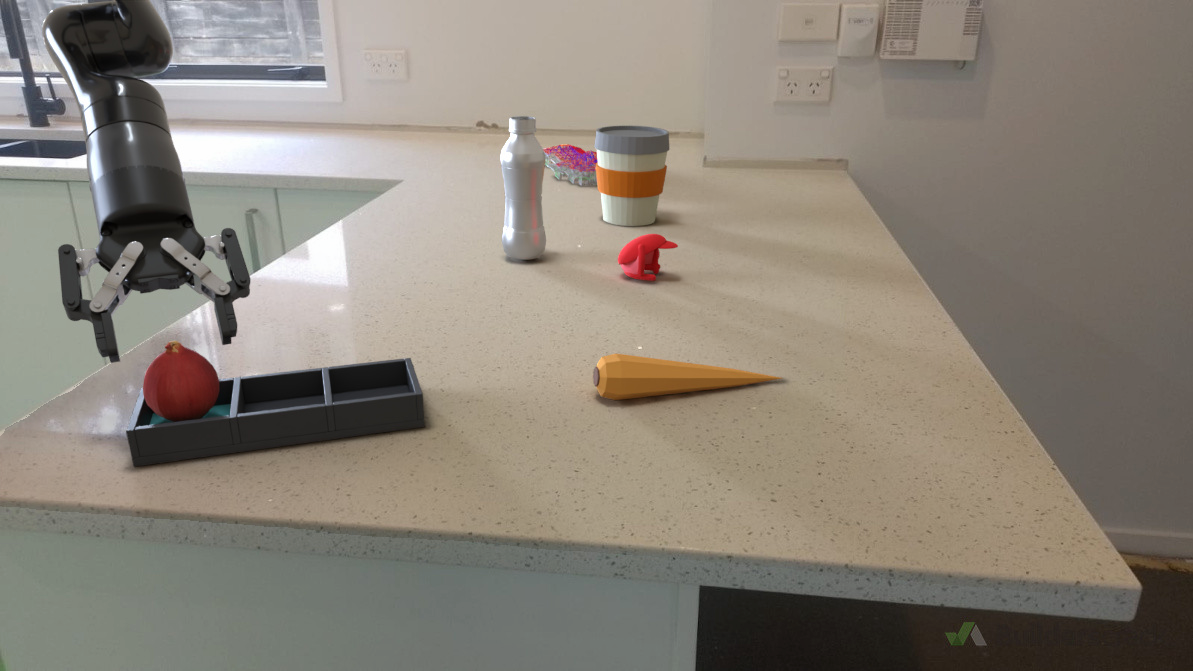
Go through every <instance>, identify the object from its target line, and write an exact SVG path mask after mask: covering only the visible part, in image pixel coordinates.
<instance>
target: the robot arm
mask: <svg viewBox="0 0 1193 671" xmlns="http://www.w3.org/2000/svg"><path fill="white" fill-rule="evenodd" d="M41 34H42V40H43V43H44V46H45V49H46V51H47V54H48V55H49V57H50V59H51V60H52V62H53V64H54V66H55V67H56V69H57V71H59V74H60V75H61V76H62V78H63V80H64V81H65V83H66V84H67V86H68V88H69V90H70V92H71V94H72V96H73V98H74V101H75V103H76V106H77V109H78V113H79V116H80V122H81V126H82V127H81V128H82V133H83V138H84V142H85V143H84V144H85V148H86V149H85V150H86V169H87V170H86V171H87V176H88V182H89V191H90V193H91V198H92V204H93V209H94V214H95V219H96V225H97V230H98V235H99V236H98V237H99V242H98V244H97V246H96V248H84V249H83V248H81V249H76V248H75V247H74V246H73V245H72V244H68V243H65V244H61V245H60V246H59V247H58V249H57V254H58V266H59V267H58V268H59V276H60V277H59V278H60V288H61V289H60V290H61V301H62V305H63V308H64V311H65V314H66V316H67V318H68V320H70V321H73V322H79V321H81V320H83V321H88V322H90V323H91V324H92V327H93V334H94V339H95V344H96V349H97V351H98V353H99V355H100V356H101V357H102V358H108V359H109V361H110V364H112V363H120V362H121V358H120V353H119V352H120V351H119V348H118V347H119V346H118V342H117V341H118V340H117V336H116V331H115V324H114V321H113V316H114V314H115V313H116V311H117V310H118V309H119V307H120V306H123V305H124V303H125V302H126V300H127V299H128V298H129V296H130V295H131V293H132V292H133V291H135V292H139V294H140V295H142V294H149V293H152V292H155V291H158V290H169V291H171V290H172V291H173V290H179V289H181V286H183V285H186V286H187V287H189V288H191V289H192V290H193V291H194V292H196V293H197V294H199V295H203V296H204V297H206V298H207V299H209V301H211V302H213V308H214V310H213V311H214V314H215V318H216V323H217V327H218V328H217V329H218V332H219V337H220V341H221V345H222V346H225V345H231V344H232V338H236V337H237V334H238V321H237V317H236V312H235V308H234V302H235V301H236V300H238V299H245V298H247V297H248V298H249V296H250V293H251V288H250V286H251V277H250V276H251V275H250V273H249V270H248V267H247V264H246V261H245V257H244V255H243V251H242V248H241V245H240V242H239V238H238V235H237V233H236V231H235V229H233V228H231V227H225V228H223V229H222V230H221V233H219V234H215V235H209V236H202V235H201V234H200V233H199V231H198V230H197V228H196V225H195V220H194V216H193V211H192V206H191V203H190V198H189V194H188V189H187V185H186V179H185V176H184V171H183V166H182V163H181V159H180V156H179V154H178V151H177V149H176V147H175V144H174V141H173V138H172V137H173V136H172V133H171V128H170V124H169V123H170V122H169V120H168V113H167V110H166V106H165V103H164V100H163V96H162V95H161V93H160V92H159V90H158V89H156V87H155V86H153V85H152V84H151V83H149V82H147V81H145V80H144V79H141V78H143V77H150V76H156V75H159V74H162V73H164V72H165V71H167V70H168V68H169V66H170V65H171V63H172V60H173V55H174V46H173V45H174V44H173V40H172V36H171V33H170V31H169V29H168V27H167V26H166V23H165V22H164V20H163V19H162V17H161V16H160V14H159V12H158V11H157V9H156V8H155V6H154V5H153V3H152V2H151V0H107V1H106V0H105V1H96V2H87V3H82V4H80V3H78V4H77V3H76V4H70V5H62V6H59V7H56V8H54V9H53V10H51V11H50V12H49V13H48V15H47V16H46V17H45V19H44V21H43V23H42V29H41ZM206 252H211V253H213V254H214V256H215V258H216V259H218V260H220V261H225V264H226V267H227V270H228V273H229V277H230V280H229V281H227V282H225V281H224V280H223V279H222V278H220V277H219V276H217V275H216V274H215V273H214V272H213V271H212V270H211V268H210V267H209V266H208V265H206V264H205V263H204V262H203V261H202V260H203V258H204V256H205V254H206ZM96 264H98V265H99V267H101V268H103V270H104V271H106V272H107V273H108V274H107V275H106V276H105V278H104V279H103V281H102V284H101V287H100V288H99V289H98V291H97V292H96V294H95V295H94V297H92V299H85V298H83V289H82V279H81V278H82V277H85V276H88V274H89V273H90V272H91V267H92V266H93V265H96Z"/></svg>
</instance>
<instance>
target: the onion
mask: <svg viewBox="0 0 1193 671" xmlns="http://www.w3.org/2000/svg"><path fill="white" fill-rule="evenodd" d="M164 349H165V350H164V351H163V352H161V353H159V354H158V355H157V356H155V358H154V359H153V360H152V361H151V362H150V364H149V365H148V367H147V369H146V371H145V374H144V377H143V385H142V388H143V394H144V398H145V400H146V403H147V405H148V406H149V407H150V408H151V409H152V410H153V411H154V412H155V413H156V414H157V415H158V416H160V417H162V418H165V419H167V420H170V421H173V422H179V421H187V420H195V419H201V418H202V417H203V416H204V415H205V414H207V413H208V412H209V410H210V409H211V408H212V407H213V406H214V404H215V402H216V400H217V397H218V394H219V379H220V378H219V376H218V372H217V370H216V369H215V366H214V365H213V364H212V363H211V362H210V361H209V360H208V359H207V358H206V357H205V356H204V355H202V354H201V353H199V352H197V351H195V350H194V349H191V348H188V347H186V346H184V345H183V344H182V343H181V342H180V341H178V340H170V341H168V342H167V344H166V345H165V346H164Z"/></svg>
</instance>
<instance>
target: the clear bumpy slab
mask: <svg viewBox="0 0 1193 671" xmlns="http://www.w3.org/2000/svg"><path fill="white" fill-rule="evenodd" d="M542 148H543V147H542ZM543 150H544V153H545V157H546V158H545V167H547V168H548V169H550V170H552V171H553V172H554V176H555V177H556V178H557V179H558V180H559V181H570V183H571V184H573V185H577V184H578V185H580V186H581V187H585V186H589V185H590V183H594V186H597V175H596V163H597V162H598V160H597V151H594V150H586V151H585V150H584V149H583V148H581V147H580V146H575V145H573V144H569V143H567V144H565V143H563V144H559V145H558V144H557V145H556V146H555V145H554V146H551V147H549V146H548V147H544V148H543ZM585 183H586V184H585ZM584 184H585V185H584Z"/></svg>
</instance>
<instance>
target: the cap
mask: <svg viewBox="0 0 1193 671" xmlns="http://www.w3.org/2000/svg"><path fill="white" fill-rule="evenodd" d="M678 247H679V245H678V244H677V243H676V242H674V241H670V240H667V239H666V237H665V236H663V235H661V234H658V233H647V234H643V235H640V236H637V237H636V238H633V239H632V240H630V241H629V242H627V243H626V244H625V245H624V246H623V247H622V249H621V250H619V251H620V252H619V253H618V255H617V263H618V265H619V266H620V267H621V269H622V271H623V272H624V274H625V275H626V276H627V277H629V278H630V279H635V280H640V281H649V282H655V281H656V279H657V276H656V275H658V274H659V273H660V269H661V264H660V263H659V259H660V257H661V256H660V253H661V252H660V250H673V249H675V248H678ZM645 271H647V272H648V271H649V272H653V274H651V273H645Z"/></svg>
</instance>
